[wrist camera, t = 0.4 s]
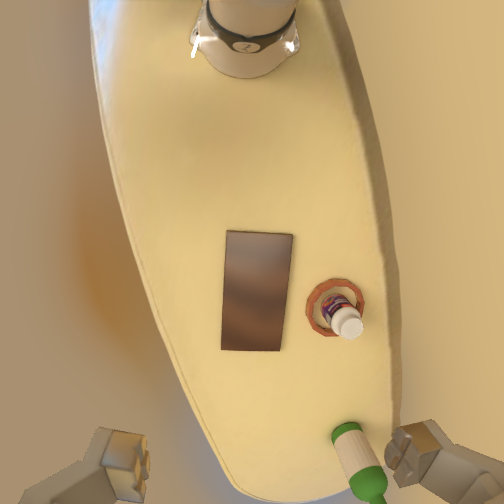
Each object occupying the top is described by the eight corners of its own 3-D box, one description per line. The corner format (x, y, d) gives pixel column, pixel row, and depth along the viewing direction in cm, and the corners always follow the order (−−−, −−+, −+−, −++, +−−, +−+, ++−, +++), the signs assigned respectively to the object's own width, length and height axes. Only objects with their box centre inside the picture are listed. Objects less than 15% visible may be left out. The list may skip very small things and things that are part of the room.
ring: (310, 278, 56) (312, 281, 55) (364, 279, 57) (368, 282, 56) (302, 332, 59) (304, 336, 57) (354, 331, 60) (357, 335, 58)
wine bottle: (341, 446, 68) (380, 536, 39) (324, 435, 66) (361, 533, 37) (365, 428, 67) (413, 517, 38) (349, 416, 65) (397, 512, 36)
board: (226, 230, 53) (226, 231, 52) (292, 234, 54) (293, 235, 53) (220, 347, 58) (220, 350, 57) (279, 348, 59) (279, 351, 58)
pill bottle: (343, 288, 57) (364, 309, 48) (349, 313, 59) (370, 336, 49) (317, 299, 57) (333, 322, 48) (324, 323, 59) (340, 348, 49)
